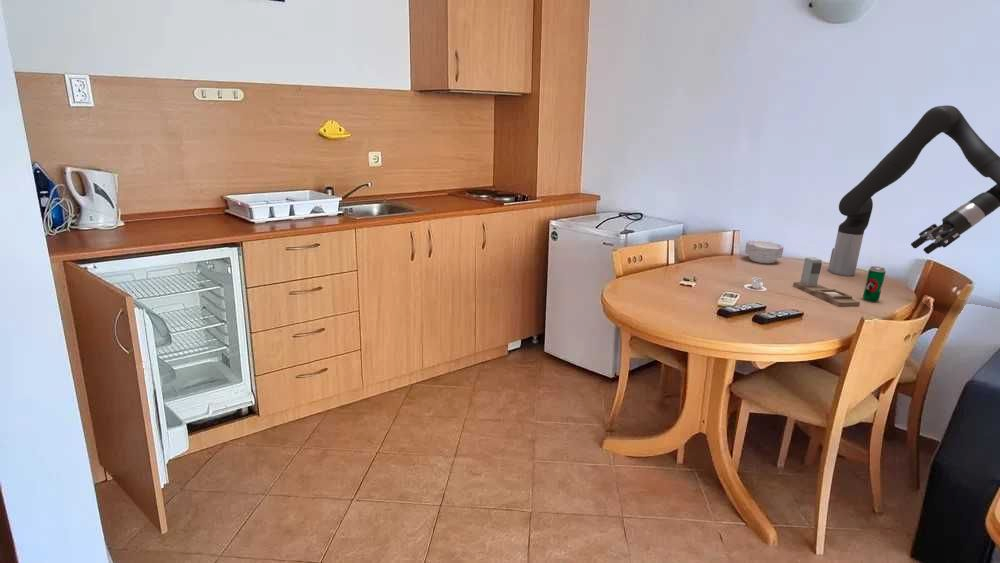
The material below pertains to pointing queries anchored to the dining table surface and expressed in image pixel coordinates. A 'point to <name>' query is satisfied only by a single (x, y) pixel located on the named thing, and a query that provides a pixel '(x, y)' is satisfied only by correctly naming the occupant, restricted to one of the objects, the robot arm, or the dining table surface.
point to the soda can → (874, 284)
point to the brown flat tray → (829, 295)
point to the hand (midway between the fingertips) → (918, 249)
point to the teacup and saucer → (756, 284)
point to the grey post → (811, 271)
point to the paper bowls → (763, 251)
